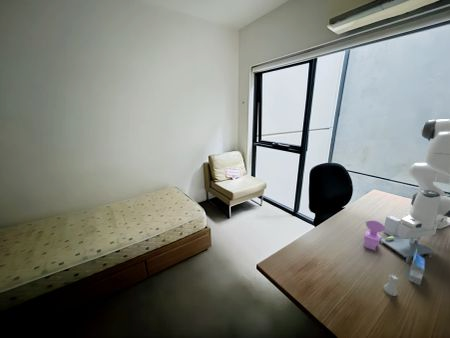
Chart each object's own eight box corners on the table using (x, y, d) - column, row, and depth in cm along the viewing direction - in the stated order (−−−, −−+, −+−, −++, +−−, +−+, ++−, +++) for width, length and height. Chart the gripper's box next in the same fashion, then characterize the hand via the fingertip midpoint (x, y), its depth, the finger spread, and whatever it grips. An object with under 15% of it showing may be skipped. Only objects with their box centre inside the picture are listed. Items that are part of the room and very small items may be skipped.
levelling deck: (404, 235, 108) (405, 231, 107) (432, 252, 95) (434, 247, 94) (379, 240, 106) (380, 236, 105) (405, 258, 93) (407, 253, 92)
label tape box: (420, 286, 80) (428, 263, 77) (407, 280, 83) (414, 257, 80) (420, 274, 86) (428, 252, 83) (408, 269, 89) (416, 247, 86)
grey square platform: (400, 239, 110) (402, 233, 109) (434, 259, 95) (436, 253, 94) (376, 242, 107) (377, 237, 106) (406, 263, 92) (408, 257, 91)
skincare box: (397, 237, 111) (403, 220, 108) (393, 239, 110) (398, 221, 106) (386, 232, 117) (390, 215, 113) (381, 233, 115) (386, 216, 112)
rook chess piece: (380, 287, 80) (384, 272, 78) (389, 286, 80) (394, 271, 78) (389, 297, 76) (394, 281, 74) (399, 296, 76) (405, 280, 74)
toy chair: (359, 247, 104) (365, 223, 100) (362, 239, 110) (367, 217, 106) (378, 254, 99) (385, 229, 95) (380, 245, 105) (386, 222, 101)
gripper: (429, 215, 101) (422, 237, 105) (398, 219, 98) (392, 241, 102) (444, 221, 95) (436, 244, 99) (411, 225, 92) (404, 249, 96)
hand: (413, 243), depth 101 cm, fingers closed, pressing on levelling deck
